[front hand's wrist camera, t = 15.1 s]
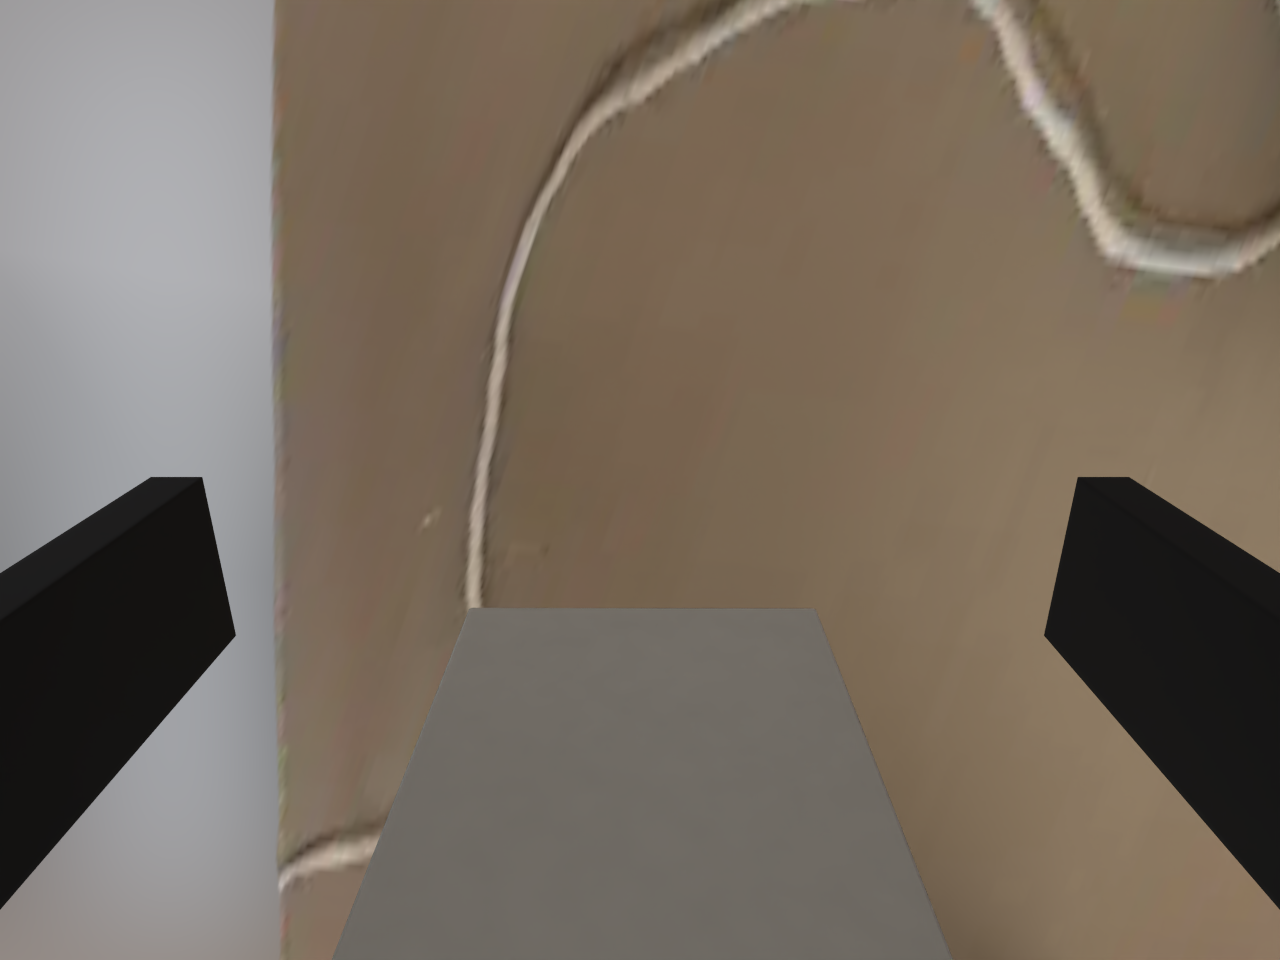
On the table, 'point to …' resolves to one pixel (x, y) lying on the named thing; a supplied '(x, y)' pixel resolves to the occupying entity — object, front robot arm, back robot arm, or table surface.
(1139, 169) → the table surface
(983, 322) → the table surface
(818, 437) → the table surface
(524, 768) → the box
